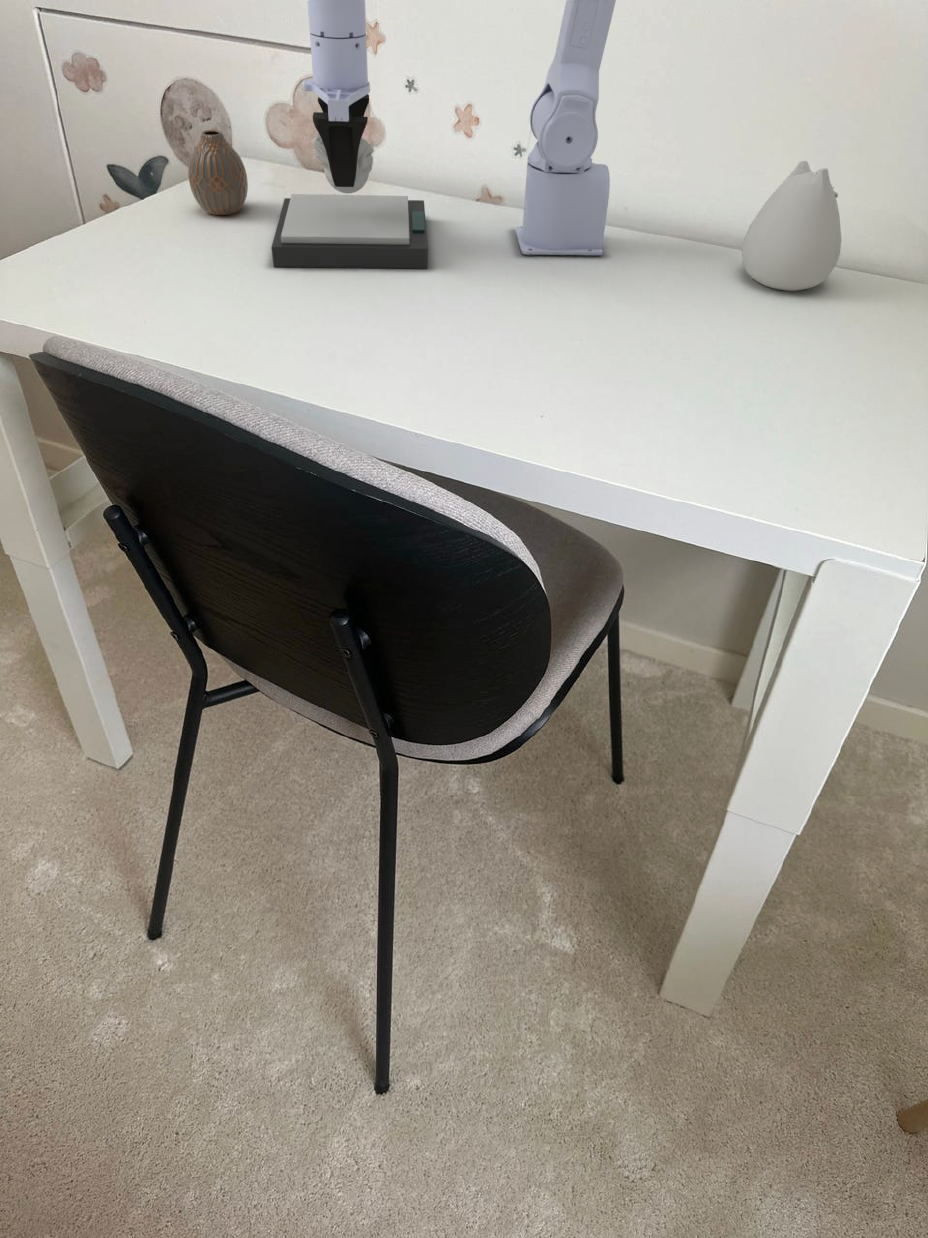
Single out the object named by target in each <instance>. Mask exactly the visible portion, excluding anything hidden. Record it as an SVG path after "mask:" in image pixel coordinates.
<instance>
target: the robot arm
mask: <svg viewBox="0 0 928 1238" xmlns="http://www.w3.org/2000/svg"><path fill="white" fill-rule="evenodd" d="M616 2H617V0H565V5H564V9H563V14H562V20H561V24H560V29H559V33H558V38H557V43H556V47H555V53H554V56H553V59H552V62H551V64H550V65H549V68H548V70H547V73H546V77H545V83H544V85H543V88H542V90H541V92H540V93H539V95H538V96H537V98H536V99H535V100H534V102H533V104H532V106H531V109H530V114H529V124H530V130H531V132H532V135H533V136H534V138H535V139H536V140H537V141H536V142H535V144H534V147H533V149H532V150H531V151H530V153H528V155H527V163H526V164H527V165H526V177H525V190H524V201H523V216H522V226H516V227H515V228H514V229H515V234H516V238H517V242H518V245H519V249H520V252H521V254H522V255H527V256H528V255H529V256H531V255H533V256H534V255H535V256H539V255H540V256H542V255H543V256H602V255H603V252H604V250H603V245H604V244H603V242H604V235H605V229H606V220H607V214H608V207H609V198H610V186H611V185H610V184H611V183H610V181H611V180H610V179H611V177H610V170H609V166H608V165H607V164H605V163H595V162H593V158H591V157H592V156H593V155H594V152H595V150H596V148H597V145H598V138H599V131H598V126H597V120H596V117H597V115H596V113H597V108H598V104H599V99H600V68H601V65H602V60H603V56H604V52H605V49H606V43H607V39H608V36H609V30H610V28H611V27H610V26H611V22H612V19H613V14H614V10H615V6H616ZM307 11H308V12H307V15H308V26H309V39H310V40H309V41H310V42H309V43H310V55H311V71H312V79H303V80H302V82H301V87H302V91H303V92H312V93H313V94H315V96H317V103H318V105H319V107H320V109H321V111H322V112H318V111H317V112H316V111H315V112H313V113H312V123H313V126H314V128H315V129H316V131H317V134H319V135H320V137H321V139H322V141H323V144H324V147H325V150H326V153H327V157H328V162H329V166H330V171H331V175H332V179H333V182H334V185H335V187H354V183H355V178H356V170H357V159H358V151H359V145H360V141H361V138H363V134H364V132H365V130H366V127H367V125H368V122H369V117H368V116H365V113H366V111H367V108H368V106H369V103H370V93H371V83H370V81H369V73H368V72H369V71H368V70H369V69H368V68H369V67H368V43H367V17H366V0H307Z"/></svg>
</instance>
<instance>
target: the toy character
mask: <svg viewBox="0 0 928 1238" xmlns="http://www.w3.org/2000/svg"><path fill="white" fill-rule="evenodd" d="M834 189H835V186H833V185H832V183H831V179H830V175H829V169H828V168H827V167H822V168H820V169H818V170H816V171H815V172H814V171H812V170H811V167H810V164H809V162H808V161H807V160H802V161H799V163H798V164H797V165H796V166H795V168H794V169H793V170H792V171H791V172H790V174H789V175H788V176H787V177H786V178H785V179H784V180H783V182H782V183H781V184H780V185H779V186H778V187H777V188H776V189H775V191H774V192H773V193H772V194H771V195H770V196H769V198H768V199H767V200H766V201H765V203H764V204H763V205H762V207H761V208H760V210H759V211H758V213H757V214H756V215H755V217H754V219H753V220H752V221H751V223H750V224H749V226H748V229H747V231H746V233H745V235H744V237H743V242H742V247H741V261H742V266H743V268H744V270H745V272H746V274H747V275H748V276H750V278H751V279H753V280H754V281H756V282H757V283H759V284H760V285H762V286H765V287H767V288H770V289H774V290H779V291H787V292H789V291H790V292H795V291H796V292H797V291H803V290H806V289H807V290H808V289H811V288H814V287H817V286H819V285H820V284H822V283H823V282H824V281H825V280H827V279H828V278H829V276H830V275H831V273H832V272H833V270H834V268H835V267H836V265H837V263H838V262H839V259H840V255H841V249H842V248H841V247H842V231H841V229H842V228H841V218H840V212H839V205H838V202H837V201H838V200H837V198H838V197H839V193H838V192H837V191H835V190H834Z"/></svg>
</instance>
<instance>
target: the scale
mask: <svg viewBox="0 0 928 1238" xmlns="http://www.w3.org/2000/svg"><path fill="white" fill-rule="evenodd" d="M271 255H272V263H273V264H272V265H273V267H274V268H335V269H336V268H337V269H338V268H339V269H340V268H341V269H343V268H347V269H426V270H427V269H428V268H429V267H428V266H429V262H428V261H429V248H428V235H427V222H426V208H425V200H423V199H422V200H421V199H409V196H408V195H377V194H376V195H373V194H372V195H369V194H317V193H316V194H314V193H313V194H312V193H311V194H310V193H309V194H308V193H307V194H306V193H305V194H303V193H291V194H290V197H284V199H283V203H282V207H281V210H280V214H279V218H278V222H277V225H276V229H275V232H274V237H273V240H272V244H271Z"/></svg>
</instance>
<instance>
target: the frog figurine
mask: <svg viewBox="0 0 928 1238" xmlns="http://www.w3.org/2000/svg"><path fill="white" fill-rule="evenodd" d="M310 142H311V143H312V144H313V145H314V146H312V152H313V155H315V157H316V159H317V161H318V163H319V164H320V165H321V166H323V170H324V175H325V179H326V181H327V182H328V183H329V185H330V186H331V187H332V188H333V189H334V190H336V191H337V192H339V193H342V194H353V193H354V194H355V193H356V192H359V191H360V190H361V189H363V188H364V187H365V185H366V183H367V182H368V180H369V176H370V173H371V172H372V169H373V163H374V158H373V155H372V154H373V153H374V152H375V149H374V147H373V146H372V144H371V143H370V142H368V140H366V139H364V138H363V137H362V138H361V141H360V145H359V151H358V159H357V170H356V178H355V183H354V187H335V185H334V182H333V179H332V175H331V171H330V166H329V162H328V157H327V153H326V150H325V147H324V144H323V141H322V139H321V137H320V135H319V133H316V134H315V135H314V137H313V138H312V139H311V140H310Z"/></svg>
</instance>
